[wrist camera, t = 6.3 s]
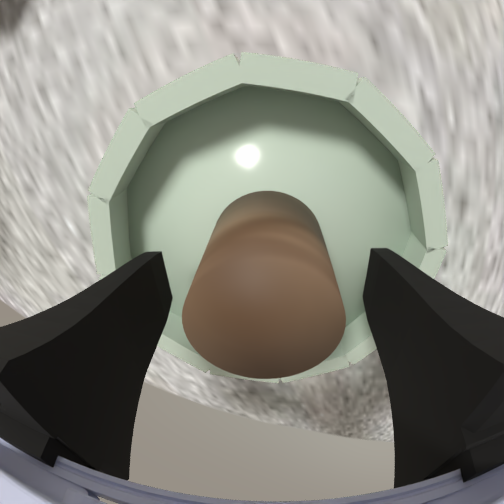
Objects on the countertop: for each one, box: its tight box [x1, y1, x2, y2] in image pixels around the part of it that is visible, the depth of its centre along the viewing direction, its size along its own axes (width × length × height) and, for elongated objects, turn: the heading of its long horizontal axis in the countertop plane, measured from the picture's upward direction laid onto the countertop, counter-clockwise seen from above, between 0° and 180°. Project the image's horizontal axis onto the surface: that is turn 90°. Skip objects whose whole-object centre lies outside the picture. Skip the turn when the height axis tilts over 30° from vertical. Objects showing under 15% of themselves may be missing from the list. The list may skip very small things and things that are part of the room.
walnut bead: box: [182, 191, 346, 379], centre depth 10 cm, size 4×4×5 cm
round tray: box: [87, 52, 448, 383], centre depth 12 cm, size 14×14×2 cm
